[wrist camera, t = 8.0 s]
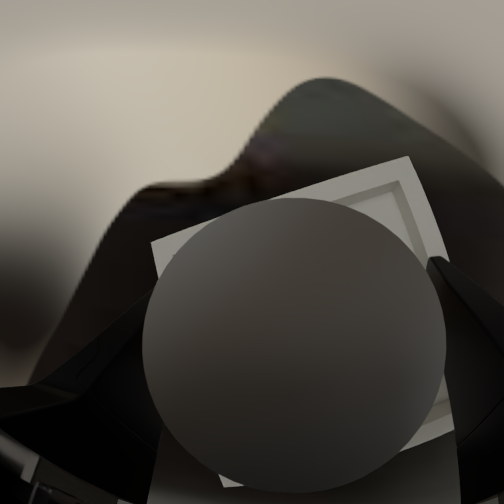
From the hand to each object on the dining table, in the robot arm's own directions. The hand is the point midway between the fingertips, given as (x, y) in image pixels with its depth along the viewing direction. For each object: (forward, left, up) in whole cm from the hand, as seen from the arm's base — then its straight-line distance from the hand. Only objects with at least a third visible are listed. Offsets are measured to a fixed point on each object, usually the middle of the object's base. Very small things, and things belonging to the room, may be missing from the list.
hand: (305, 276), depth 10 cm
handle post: (-1, 0, -9) cm, 9 cm away
